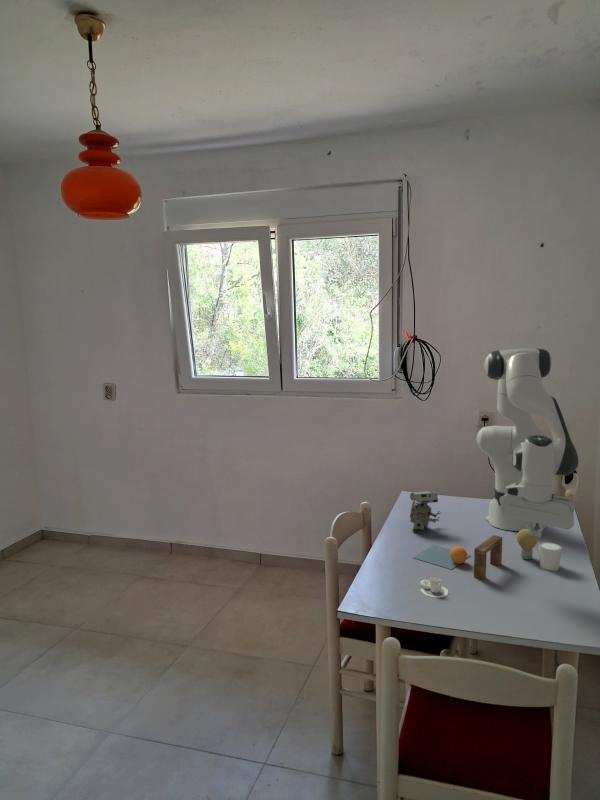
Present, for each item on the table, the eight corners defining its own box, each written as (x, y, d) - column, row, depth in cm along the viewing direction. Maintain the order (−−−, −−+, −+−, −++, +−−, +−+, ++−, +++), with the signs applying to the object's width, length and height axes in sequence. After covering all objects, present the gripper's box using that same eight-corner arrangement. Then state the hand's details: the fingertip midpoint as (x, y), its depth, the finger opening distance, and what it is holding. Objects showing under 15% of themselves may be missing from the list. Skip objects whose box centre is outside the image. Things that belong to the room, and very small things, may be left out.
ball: (472, 550, 177) (465, 562, 179) (457, 540, 179) (450, 553, 182) (466, 556, 173) (459, 569, 175) (451, 547, 175) (444, 559, 177)
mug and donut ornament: (416, 585, 164) (417, 572, 163) (442, 584, 164) (442, 571, 163) (425, 599, 155) (425, 586, 154) (452, 598, 155) (452, 585, 155)
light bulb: (518, 552, 185) (519, 524, 183) (538, 556, 181) (539, 528, 180) (513, 559, 180) (514, 530, 178) (534, 563, 176) (535, 534, 175)
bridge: (473, 576, 167) (474, 548, 166) (492, 561, 178) (493, 534, 177) (483, 579, 165) (483, 551, 164) (501, 564, 176) (502, 537, 175)
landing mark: (433, 545, 192) (433, 544, 192) (470, 555, 183) (470, 555, 183) (413, 558, 182) (413, 557, 182) (451, 569, 173) (451, 569, 173)
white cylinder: (551, 573, 169) (552, 552, 168) (533, 565, 175) (533, 544, 174) (565, 568, 172) (566, 547, 171) (547, 560, 178) (548, 540, 177)
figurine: (439, 534, 202) (440, 496, 200) (408, 532, 205) (409, 494, 203) (440, 526, 210) (440, 489, 208) (410, 523, 214) (410, 487, 212)
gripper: (578, 495, 154) (576, 541, 156) (507, 482, 168) (505, 525, 170) (572, 501, 149) (569, 548, 151) (499, 487, 163) (497, 531, 165)
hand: (535, 536), depth 161 cm, fingers closed
